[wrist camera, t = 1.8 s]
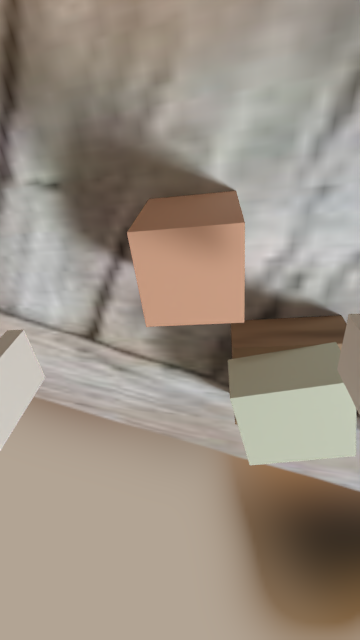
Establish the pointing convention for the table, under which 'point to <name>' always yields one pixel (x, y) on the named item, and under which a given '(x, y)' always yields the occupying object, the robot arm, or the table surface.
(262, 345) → the riser lower
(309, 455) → the block
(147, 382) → the table surface
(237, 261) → the clay block
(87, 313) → the table surface
